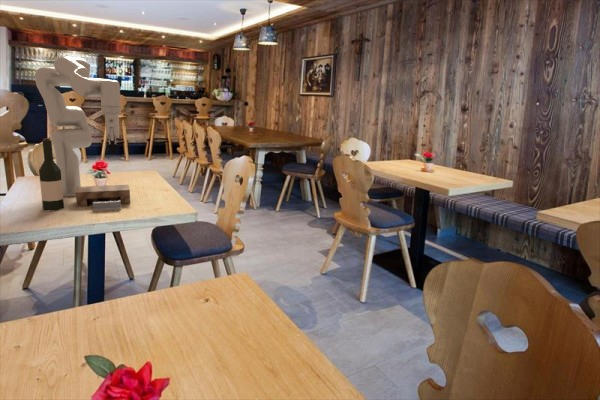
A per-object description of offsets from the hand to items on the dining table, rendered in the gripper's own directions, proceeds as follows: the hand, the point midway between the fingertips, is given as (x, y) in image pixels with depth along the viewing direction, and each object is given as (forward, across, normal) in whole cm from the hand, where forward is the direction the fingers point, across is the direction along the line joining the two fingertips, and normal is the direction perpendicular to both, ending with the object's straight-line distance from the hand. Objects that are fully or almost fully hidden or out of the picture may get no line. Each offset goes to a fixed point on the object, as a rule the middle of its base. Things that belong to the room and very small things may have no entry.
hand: (113, 153), depth 190 cm
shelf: (+24, +10, +5) cm, 27 cm away
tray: (+25, +2, +4) cm, 25 cm away
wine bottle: (+25, +3, +25) cm, 35 cm away
